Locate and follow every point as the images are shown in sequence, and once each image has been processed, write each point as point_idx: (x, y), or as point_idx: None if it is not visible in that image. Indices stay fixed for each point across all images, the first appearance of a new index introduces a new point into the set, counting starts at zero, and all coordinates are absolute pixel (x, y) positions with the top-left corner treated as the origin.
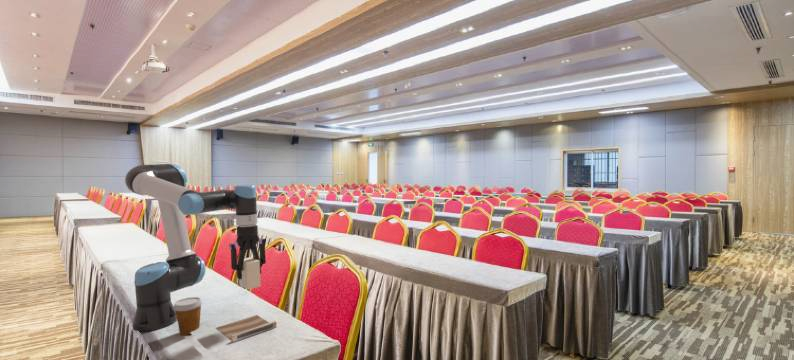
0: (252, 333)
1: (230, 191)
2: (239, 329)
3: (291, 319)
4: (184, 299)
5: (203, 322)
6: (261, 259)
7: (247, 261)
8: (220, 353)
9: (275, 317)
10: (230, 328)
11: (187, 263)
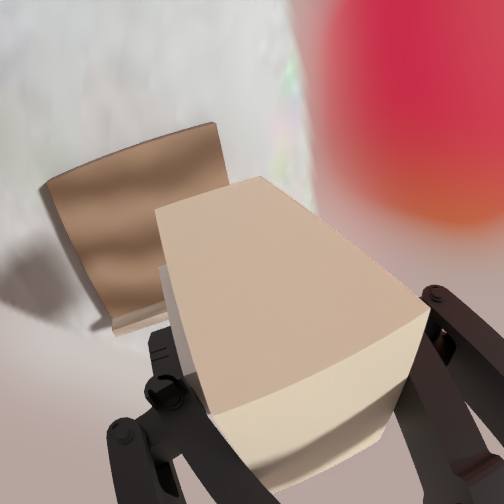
0: None
1: None
2: (132, 242)
3: (311, 203)
4: None
5: (13, 55)
6: (447, 321)
7: (297, 468)
8: (87, 338)
9: (275, 152)
10: (100, 218)
11: None
